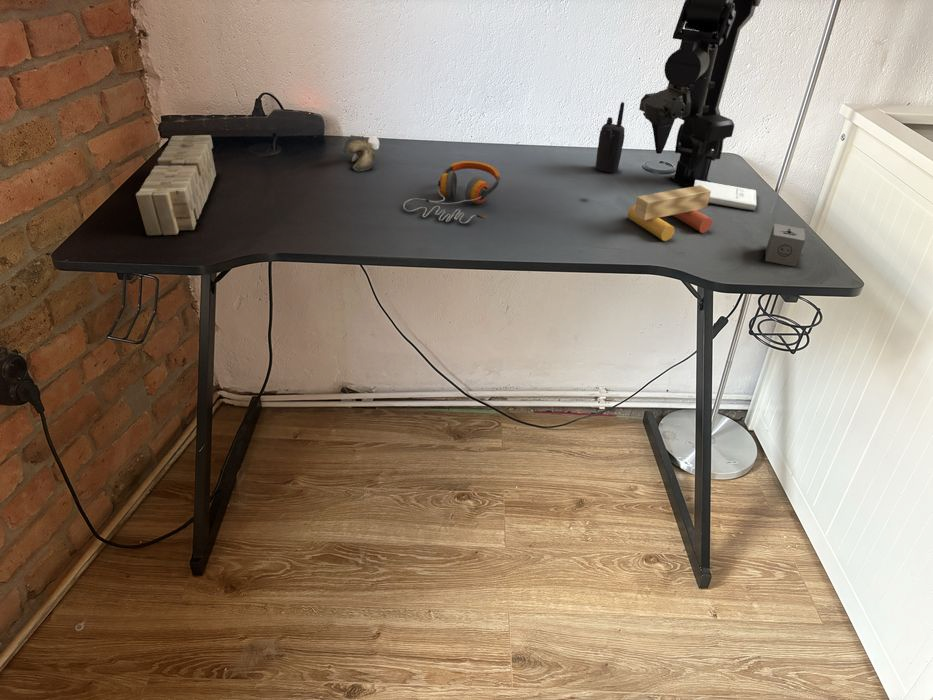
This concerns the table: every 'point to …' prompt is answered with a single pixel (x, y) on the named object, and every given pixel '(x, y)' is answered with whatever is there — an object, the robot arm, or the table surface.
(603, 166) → the two-way radio
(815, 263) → the table surface
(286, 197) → the table surface
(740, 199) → the hard drive
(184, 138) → the block tower
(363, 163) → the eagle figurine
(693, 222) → the terracotta rod
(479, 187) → the headphones
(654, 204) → the light wooden bar
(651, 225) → the ochre rod
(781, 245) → the dice cube
